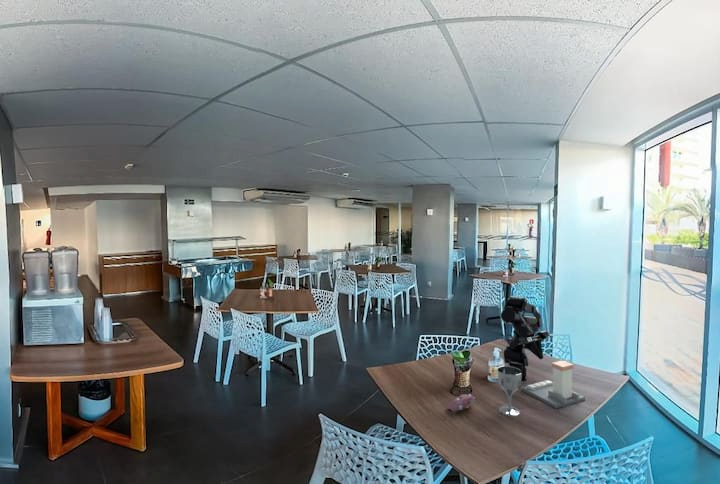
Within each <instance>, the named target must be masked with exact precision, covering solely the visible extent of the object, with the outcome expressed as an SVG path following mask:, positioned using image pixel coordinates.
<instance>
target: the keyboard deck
mask: <svg viewBox="0 0 720 484" xmlns="http://www.w3.org/2000/svg"><path fill="white" fill-rule="evenodd" d="M520 389H521V391H522V392H524V393H526V394H528V395H530V396H531V397H534V398H535V399H538V400H540V402H541V401H542V402H544V403H545V404H546V405H549V406H551V407H553V408H555V409H558V408H562V407H563V408H564V407H566V406H570V405H572V404H575V403H576V404H577V403H580V402H584V401H585V400H586V396H585V395H584V396H583V395H582V394H580V393H578V392H575V391H574V390H572V397H571V398H567V399H566V397H563V396H561V395H559V394H557V393H555V392H553V381H551V380H548V379H547V380H543V381H539V382H535V383H532V384H527V385H525V386H521V388H520Z"/></svg>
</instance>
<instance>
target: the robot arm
mask: <svg viewBox="0 0 720 484" xmlns="http://www.w3.org/2000/svg"><path fill="white" fill-rule="evenodd" d="M525 313H527V314H532V316H530V315H525ZM500 318H501V320H502V321H503V322H505V323H506V324H508V325H509V324H510V325H511V327H512V328H513V331H512V332H513V335H514V336H512V337H508V338H507V339H506V343H507V345H506V347H505V348H504V350H503V358H504V363H505V364H507V366H511V367H515V368H518V369H520V370H521V381H527V368H526V367H528V366H529V357H528V355H527V353H526V350H527V351H530V352H531V353H532V354H533V355H534V356H536V357H537V358H538V359H539V360H543V359H544V353H543V347H542V346H543V345H542V342H543V341H545V340H546V339H547V338H549V337H550V333H549V332H548V331H547V330H541V331H540V329H541V328H542V326H543V321H542V315H541V314H540V312H539V311H538V310H537V308H536V305H535V304H532V303H529V302H528V299H526V297H524V296H523V297H522V296H512V295H510V296H509V298H507V299H506V302H505V304H504V307H503V310H502V311H501V314H500Z"/></svg>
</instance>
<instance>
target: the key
mask: <svg viewBox="0 0 720 484" xmlns="http://www.w3.org/2000/svg"><path fill="white" fill-rule="evenodd" d="M551 368H552V380H553V381H552V382H553V392H555V393H557V394H559V395H561V396H563V397H566V399H567V398H571V397H572V391H573V369H574V364H573V363H571V362H567V361H565V360H558V361H555V362H551Z"/></svg>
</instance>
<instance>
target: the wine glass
mask: <svg viewBox="0 0 720 484" xmlns="http://www.w3.org/2000/svg"><path fill="white" fill-rule="evenodd" d="M496 372H497V380H498V383H499V386H500V388H501V389H503V391H504V392H505V394H506V396H507V401H508V405H503V406H500V407H499V408H498V411H499V412H500V413H501V412H502V413H503V414H502V413H501V414H502V415H504V414H505V415H504V416H507V415H508V416H507V417H519V416H520V415H521V411H520V410H519V409H518V408H516V407H514V406H511V405H512V397H513V394H514V393H515V392H517V391H518V390H519V389H520V386H521V383H522V380H521V370H520V369H518V368H515V367H511V366H508V365H502V366H498V367H497V371H496ZM518 415H519V416H518Z"/></svg>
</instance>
